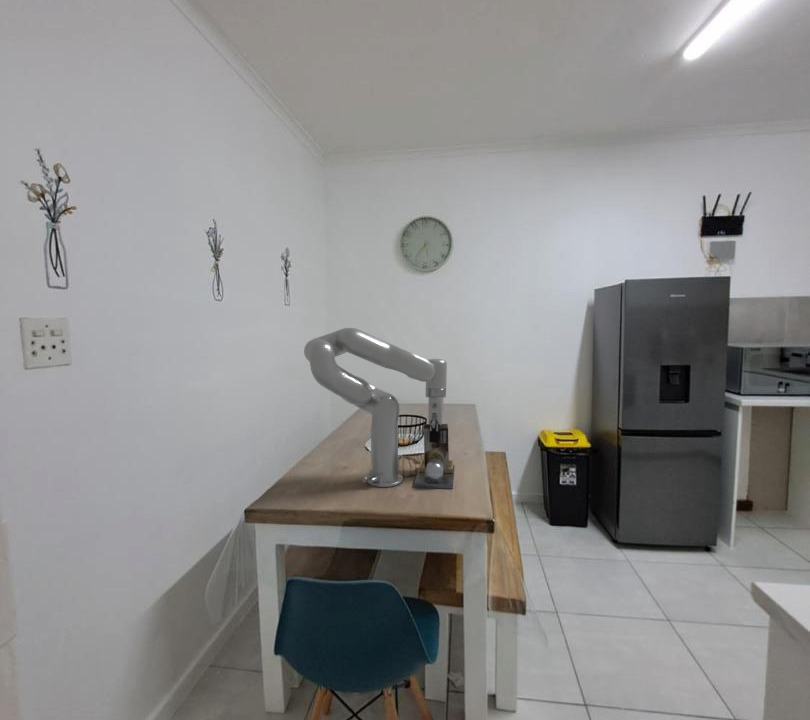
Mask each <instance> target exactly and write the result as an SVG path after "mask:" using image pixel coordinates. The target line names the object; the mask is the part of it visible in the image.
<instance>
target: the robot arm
mask: <svg viewBox="0 0 810 720" xmlns="http://www.w3.org/2000/svg"><path fill="white" fill-rule="evenodd" d="M303 353H304V356H305V358H306V360H307V361H308V362H309V367H310V370H311V373H312V376H313V378H314V379H315V381H316V383H318V384H319V385H320V386H321V387H323V388H325V389H326V390H327V391H330V392H331V393H333V394H334V395H336V396H338V397H340V398H341V399H342V400H344V401H345V402H347V403H349V404H351V405H353V406H355V407H357V408H359V409H361V410H363V411H365V412H367V413H368V414H370V415H371V424H370V456H371V458H370V459H371V460H370V463H371V464H370V465H371V469H369V473H368V474H367V475H364V476H362V477H361V481H362V483H366V482H367V483H368V485H371V487H372V486H374V487H377V488H390V487H395V486H397V485H400V484H402V482H403V480H404V479H403V476H402V474H400V473H399V436H398V435H399V431H398V430H399V428H398V426H399V418H400V410H401V409H400V403H399V401H398V399H397V398H396V397H395V395H393V394H391V393H389V392H386V391H384V390H382V389H380V388H378V387H376V386H375V385H373V384H370V383H369V382H368V381H367V380H365V379H364V378H362V377H360V376H357V375H354V374H352V373H351V372H349V371H347V370H346V369H344V368H342V367H341V366H339V365H338V364H337V362H336V357H339V356H340V355H343V354H346V353H349V354H351V355H353V356H355V357H358V358H361V359H363V360H365V361H368V362H370V363H372V364H374V365H376V366H379V367H381V368H384V369H389V370H393V371H396V372H399V373H401V374H404V375H406V377H407V378H410V379H413V380H417V381H419V382H423V383H425V397H426V398H428V413H427V414H428V424H430V434H429V441H430V442H438V435H439V431H438V424H440V425H442V424H444V398H446V397H447V372H448V371H447V370H448V369H447V367H448V365H447V363H448V362H447V361H446V360H445V359H443V358H430V359H426V358H424V357H421V356H419V355H417V354H415V353H413V352H410V351H408V350H406V349H403V348H400V347H399V346H396V345H394V344H391V343H389V342H387V341H385V340H382V339H380V338H379V337H376V336H374V335H372V334H370V333H368V332H365V331H363V330H361V329H358V328H356V327H344V328H341V329H338V330H336V331H333V332H331V333H327V334H325V335H322V336H319V337H315V338H313V339H311V340H309V341H307V343H306V344H305V346H304V350H303Z"/></svg>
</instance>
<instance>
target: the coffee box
mask: <svg viewBox="0 0 810 720" xmlns="http://www.w3.org/2000/svg"><path fill="white" fill-rule="evenodd" d="M438 431H439V435H438V442H430V441H429V434H430V424H429V423H424V424H423V447H424V448H423V450H424V452H423V455H424V467H427V463H428V462H429V461H430V460H431V459H434V458H436V459H439V460H441V461H442V463H443V465H444V468H449V460H450V459H449V457H450V455H449V426H448V423H442V425H440V424H438Z"/></svg>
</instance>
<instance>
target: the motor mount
mask: <svg viewBox="0 0 810 720" xmlns="http://www.w3.org/2000/svg"><path fill="white" fill-rule="evenodd" d="M454 478H455V464H454V459H453V460H450V459H449V468H444V465H443V463H442V461H441V460H439V459H436V458H434V459H431V460H430V461H429V462H428V463H427V467H424V459H421V460H420V463H419V465H418V470H417V473H416V476H415V479H414V480H415V481H414V488H424V489H425V488H426V489H442V490H443V489H447V490H448V489H450V490H454V480H455V479H454Z"/></svg>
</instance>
